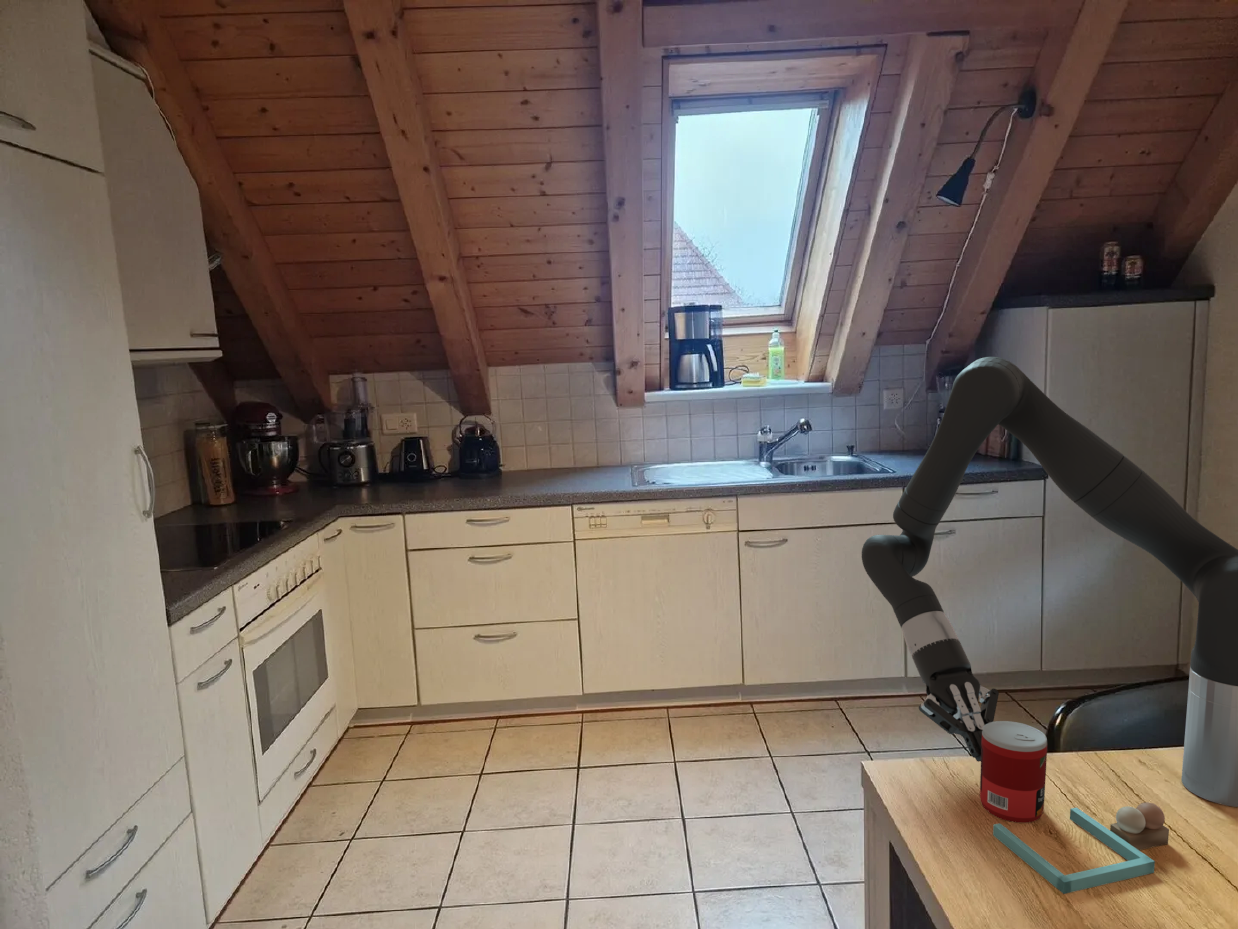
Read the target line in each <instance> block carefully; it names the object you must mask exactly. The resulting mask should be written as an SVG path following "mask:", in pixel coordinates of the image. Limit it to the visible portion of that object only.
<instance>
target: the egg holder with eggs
mask: <svg viewBox="0 0 1238 929" xmlns="http://www.w3.org/2000/svg"><path fill="white" fill-rule="evenodd" d="M1165 819H1166V817H1165V813H1164V811H1163V810H1162V809H1161V808H1160V806H1158V805H1157V804H1155V803H1153V802H1149V801H1147V802H1142V803H1140V804H1138V805H1137V806H1136V807H1134V806H1126V805H1125V806H1122V807H1120V808H1119V809H1118V810H1117V811H1116V815H1115V821H1116V822H1115V823H1110V825H1109V826H1110V828H1109V830H1110V831H1112V832H1113V833H1114V834H1116V835H1117V836H1119V837H1120V838H1122V839H1123V840H1125V841H1126V842H1127V843H1129V844H1130V845H1132V846H1133V847H1135V848H1136V849H1138V850H1139V851H1141V850H1145V849H1146V850H1147V849H1150V848H1154V847H1158V846H1159V847H1160V846H1164V845H1167V844H1169V834H1170V829H1169V828H1168V827H1167V826H1165V825H1164V824H1165V821H1166V820H1165Z"/></svg>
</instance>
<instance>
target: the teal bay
mask: <svg viewBox="0 0 1238 929" xmlns="http://www.w3.org/2000/svg"><path fill="white" fill-rule="evenodd" d="M1069 820H1071V821H1072V822H1073V823H1075V824H1076V825H1077V826H1079V827H1081V829H1083V830H1084V831H1086V832H1087V833H1088V834H1090V835H1091V836H1093V837H1094V838H1096V839H1097V840H1099V841H1100V842H1101V843H1103V844H1104V845H1105V846H1107V847H1108V848H1110V849H1111V850H1113V851H1114V852H1115V853H1116V854H1117V855H1120V856H1121V857H1122V858H1124V859H1125V860H1126V861H1121V862H1118V863H1113V864H1110V865H1104V866H1100V867H1095V868H1091V869H1088V870H1081V871H1079V872H1074V873H1069V874H1064V873H1062V872H1061V871H1060V870H1059V869H1058V868H1056V867H1055V866H1054V865H1053V864H1051V863H1050V862H1049V861H1047V860H1046V859H1045V858H1044V857H1043V856H1042V855H1040V854H1039V853H1038V852H1037V851H1035V850H1034V849H1032V847H1031V846H1029V845H1028V844H1026V843H1025V842H1024V841H1023V840H1021V839H1020V838H1019V837H1018V836H1017V835H1016V834H1014V833H1013V832H1012V831H1011V830H1009V829H1008V828H1007V827H1006V826H1004V825H1003V824H1002V823H1000V822H999V823H994V824H993V828H992V836H993V837H994V838H996V839H997V840H999V842H1001V843H1002V844H1003V845H1004V846H1006V847H1007V848H1008V849H1009V850H1010V851H1012V852H1013V853H1014V854H1015V855H1017V857H1019V858H1020V859H1021V860H1022V861H1023V862H1024V863H1026V864H1027V865H1028V866H1030V867H1031V868H1032V869H1033V870H1034V871H1035V872H1036V873H1038V875H1040V876H1041V877H1043V878H1044V879H1045V880H1046V881H1047V882H1048V883H1050V884H1051V885H1052V886H1053V887H1054V888H1055V889H1057V890H1058V891H1059V892H1061V894H1063V895H1066V894H1069V893H1073V892H1078V891H1082V890H1086V889H1090V888H1095V887H1100V886H1103V885H1108V884H1112V883H1116V882H1120V881H1121V882H1122V881H1125V880H1129V879H1133V878H1137V877H1141V876H1146V875H1150V874H1154V873H1155V864H1156V861H1155V860H1153V859H1152V858H1151V857H1149V856H1148V855H1147V854H1145V853H1143V852H1142V851H1141V850H1138V849H1136V848H1135V847H1133V846H1132V845H1130V844H1129V843H1127V842H1126V841H1125V840H1123V839H1122V838H1120V837H1119V836H1117V835H1116V834H1114V833H1113V832H1112V831H1110V828H1107V827H1106V826H1105V825H1103V824H1101V823H1100V822H1099V821H1097V820H1096V819H1094V818H1092V817H1091V816H1090V815H1088V813H1085V812H1084V811H1082V810H1081V809H1079V808H1078V807H1072V808H1070V809H1069Z"/></svg>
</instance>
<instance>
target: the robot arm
mask: <svg viewBox="0 0 1238 929" xmlns="http://www.w3.org/2000/svg"><path fill="white" fill-rule="evenodd" d="M952 383H953V384H952V388H951V391H950V394H949V396H948V400H947V403H946V407H945V408H944V412H943V415H942V418H941V420H940V423H939V426H938V428H937V430H936V433H935V435H934V437H933V440H932V442H931V443H930V446H929V447H928V449H927V451H926V452H925V455H924V456H923V458H922V460H921V462H920V463H919V465H918V467H917V468H916V470H915V472H914V473H913V475H912V476H911V478H910V480H909V482H908V484H907V485H906V487H905V489H904V491H903V493H902V495H901V497H899V500H898V501H897V503H896V506H894V507H895V508H894V510H893V514H892V518H893V521H894V523H895V524H896V526H897V527H899V528H900V529H902V531H901V534H899V535H897V534H896V535H893V534H891V535H890V534H876V535H873V536H870V537H869V538H867V539H866V540H865V541H864V543H863V544H862V545H863V546H862V548H861V561H862V562H861V563H862V565H863V568H864V570H865V572H866V574H867V576H868V578H870V580H871V581H872V583H873V584H874V585H875V586H876V588H877V590H878V591H879V592H880V594H881V595H882V596H883V597H884V598H885V600H886V601H887V602H888V603H889V604H890V606H891V607H892V610H893V612H894V615H895V618H896V619H897V622H898V624H899V626H900V629H901V631H902V634H903V639H904V642H905V644H906V647H907V648H908V651H909V653H910V656H911V658H912V660H913V663H914V665H915V667H916V669H917V672H918V674H919V677H920V679H921V681H922V683H924V684H925V693H926V695H927V696H926V698H925V699H924V701H923V702H922V703H920V704H919V705H918V710H919V711H920V712H921V713H922V714H923V715H925V716H926V717H927V718H929V719H930V720H931V721H932V722H933V723H935V724H936V725H937V726H938V727H940V728H941V729H943V730H944V731H945V732H946V733H948V734H949V735H954V734H956V735H959V736H961V737H962V738H963V740H964V742H965V744H966V746H967V748H968V751H969V753H970V755H971V756H972V758H973V759H975V760H976V762H978V763H979V762H981V741H982V731H983V727H984V726H985V725H986V724H988V723H990V722H995V716H996V710H997V706H998V705H997V704H998V700H999V695H1000V693H999V690H997V689H996V688H991V689H988V688H987V687H984V686H983V685H981V682H980V681H979V679H978V678H977V677H976V676H975V675H974V673H973V672H972V670H973V669H972V664H971V662H970V660H969V658H968V656H967V654H966V652H965V649H964V648H963V645H962V643H961V641H960V639H959V637H958V634H957V632H956V631H955V629H954V626H953V625H952V623H951V621H950V620H949V618H948V616H946V614H945V612H944V610H943V607H942V605H941V602H940V601H939V599H938V597H937V594H936V593H935V591H934V589H933V587H932V586H931V585H930V584H928V583H927V582H926V581H925V582H924V581H921V580H918V579H916V578H914V577H915V576H917V575H918V574H920V572H922V571H923V570H924V568H925V567H926V565H927V563H928V562H929V557H930V555H931V554H930V553H931V550H932V546H933V543H934V539H935V532H936V529H937V526H938V525H939V524H940V523H941V521H942V519H943V517H944V515H945V514H946V512H947V510H948V508H949V507H950V505H951V503H952V502H953V500H954V497H955V496H956V493H957V491H958V490H959V488H960V485H961V483H962V480H963V478H964V475H965V473H966V470H967V469H968V467H969V465H970V463H971V461H972V460H973V458H974V456H975V454H976V453H977V452H978V450H979V449H980V447H981V446H982V445H983V443H984V442H985V441H986V439H988V437H989V436H990V434H992V432H993V431H994V430H995V428H996V427H997V426H998V425H999V427H1001V428H1003V429H1004V430H1006V432H1008V433H1009V434H1011V435H1012V436H1013V437H1015V438H1016V439H1017V440H1019V441H1020V442H1021V443H1022V444H1023V445H1024V446H1025V447H1026V448H1027V449H1028V450H1029V451H1030V452H1031V453H1032V455H1033V456H1034V458H1035V459H1036V460H1037V462H1038V463H1039V464H1040V466H1041V467H1042V468H1043V470H1044V471H1045V472H1046V474H1047V475H1048V476H1049V478H1050V479H1051V480H1052V481H1053V483H1054V484H1055V485H1056V487H1058V488H1059V490H1060V491H1061V492H1062V493H1064V495H1065V496H1066V497H1068V499H1070V500H1071V501H1072V502H1073V503H1074V504H1076V506H1078V508H1080V509H1081V510H1083V512H1085V513H1086V514H1087V515H1089V516H1090V517H1091V518H1092V519H1094V520H1095V521H1096V522H1098V523H1099V524H1101V525H1102V526H1103V527H1105V528H1106V529H1107V530H1109V531H1111V532H1113V533H1114V534H1116V535H1118V536H1119V537H1120V538H1123V539H1124V540H1126V541H1128V542H1130V543H1132V544H1134V545H1136V547H1139V548H1141V549H1142V550H1144V551H1146V552H1147V553H1149V554H1150V555H1152V556H1153V557H1154V558H1155V559H1157V560H1158V561H1159V562H1160V563H1162V564H1163V566H1165V567H1166V568H1167V569H1168V570H1169V571H1170V572H1172V574H1173V575H1174V576H1176V578H1177V579H1179V580H1180V581H1181V583H1182V584H1183V585H1184V586H1186V588H1187V589H1188V590H1189V591H1190V592H1191V593H1192V595H1193V596H1194V597H1195V598H1196V600H1197V602H1198V611H1197V621H1196V632H1195V641H1194V642H1195V643H1194V646H1193V647H1192V649H1191V652H1190V663H1189V664H1190V665H1189V675H1188V677H1189V678H1188V690H1187V692H1188V693H1187V702H1186V703H1187V704H1186V705H1187V706H1186V718H1185V730H1184V744H1183V754H1182V769H1181V784H1182V785H1183V786H1184V787H1185V788H1186V789H1187V790H1188V791H1189V792H1191V793H1193V794H1194V795H1196V796H1198V797H1199V798H1202V799H1204V800H1206V801H1209V802H1213V803H1216V804H1219V805H1224V806H1227V807H1228V806H1230V807H1235V808H1237V807H1238V548H1237V547H1235V546H1233V545H1231V544H1230V543H1228V542H1227V541H1226V540H1224V539H1223V538H1221V537H1220V536H1218V535H1216V534H1215V533H1213V532H1212V531H1211V530H1209V529H1208V528H1207V527H1205V526H1204V525H1203V524H1201V523H1199V521H1197V520H1196V519H1194V518H1193V517H1192V516H1191V514H1189V513H1188V512H1187V511H1186V510H1185V508H1184V507H1182V506H1181V504H1179V502H1177V500H1176V499H1175V498H1174V497H1173V496H1172V495H1170V494H1169V493H1168V491H1166V490H1165V489H1164V488H1163V487H1162V485H1160V484H1159V483H1158V482H1157V481H1156V480H1154V479H1153V478H1152V477H1151V476H1150V475H1149V474H1148V473H1147V472H1145V471H1144V470H1143V469H1142V468H1140V467H1139V466H1138V465H1137V464H1136V463H1134V462H1133V461H1131V459H1129V458H1128V457H1127V456H1125V455H1124V454H1123V453H1122V452H1120V451H1119V449H1116V448H1115V447H1113V445H1111V444H1109V443H1108V442H1107V441H1106V440H1104V439H1103V438H1101V436H1099V435H1097V433H1095V432H1094V431H1092V430H1091V429H1089V428H1088V427H1086V425H1084V424H1082V423H1081V422H1079V421H1078V420H1076V419H1075V418H1073V417H1072V416H1071V415H1069V414H1068V413H1066V412H1065V411H1064V410H1063V409H1061V408H1060V407H1059V406H1058V405H1057V404H1056V403H1055V402H1053V400H1051V399H1050V398H1049V397H1048V396H1047V395H1046V394H1045V393H1044V392H1043V390H1041V389H1040V388H1039V387H1038V386H1037V385H1036V384H1035V383H1034V382H1033V381H1032V380H1031V379H1030V378H1029V377H1028V376H1027V375H1026V374H1025V373H1024V372H1023V371H1022V370H1021V369H1020V368H1019V367H1018V366H1017V365H1016V364H1014V363H1013V362H1012V361H1010V360H1008V359H1005V358H1002V357H997V356H985V357H982V358H981V357H980V358H978V359H976V360H975V361H973V362H971V363H970V364H969V365H967V366H966V367H965V368H964V369H962V370H961V371H960V372H959V373H958V374H957V376H956V377H955V379H954V381H953V382H952ZM979 703H981V705H979Z"/></svg>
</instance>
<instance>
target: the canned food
mask: <svg viewBox="0 0 1238 929" xmlns="http://www.w3.org/2000/svg"><path fill="white" fill-rule="evenodd" d="M1047 755H1048V739H1047V736H1046V735H1045V733H1044V732H1042V731H1041V730H1039V729H1038V728H1036V727H1033V726H1031V725H1028V724H1026V723H1022V722H1016V721H1011V720H997V721H995V720H994V721H993V722H990V723H988V724H986V725H985V726H984V727H983V731H982V741H981V761H980V779H979V782H980V784H979V798H980V803H981V805H982V807H983V809H984V810H985V811H987V813H989V814H990V815H992V816H993V817H995V818H998V819H1000V820H1004V821H1007V822H1012V823H1019V824H1025V823H1026V824H1027V823H1032V822H1036V821H1038V820H1039V819H1040V818H1041V817H1042V815H1043V813H1044V810H1045V792H1046V777H1047V776H1046V775H1047V774H1046V773H1047V761H1048V756H1047Z"/></svg>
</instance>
